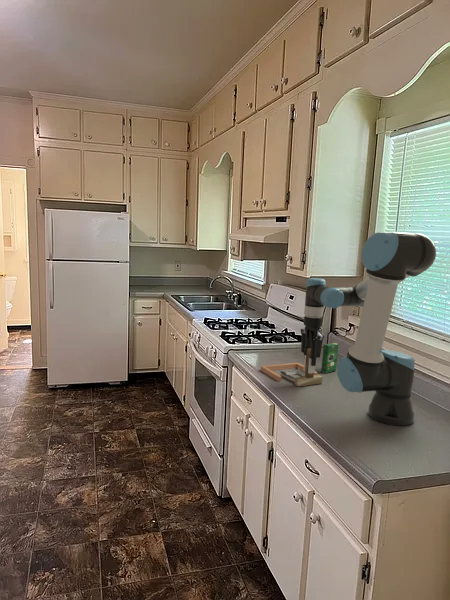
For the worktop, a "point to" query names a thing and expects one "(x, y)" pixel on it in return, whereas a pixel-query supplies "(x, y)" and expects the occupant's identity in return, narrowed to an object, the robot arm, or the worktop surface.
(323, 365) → the coffee box
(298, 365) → the tile bay
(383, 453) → the worktop surface
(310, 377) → the wooden scraper
